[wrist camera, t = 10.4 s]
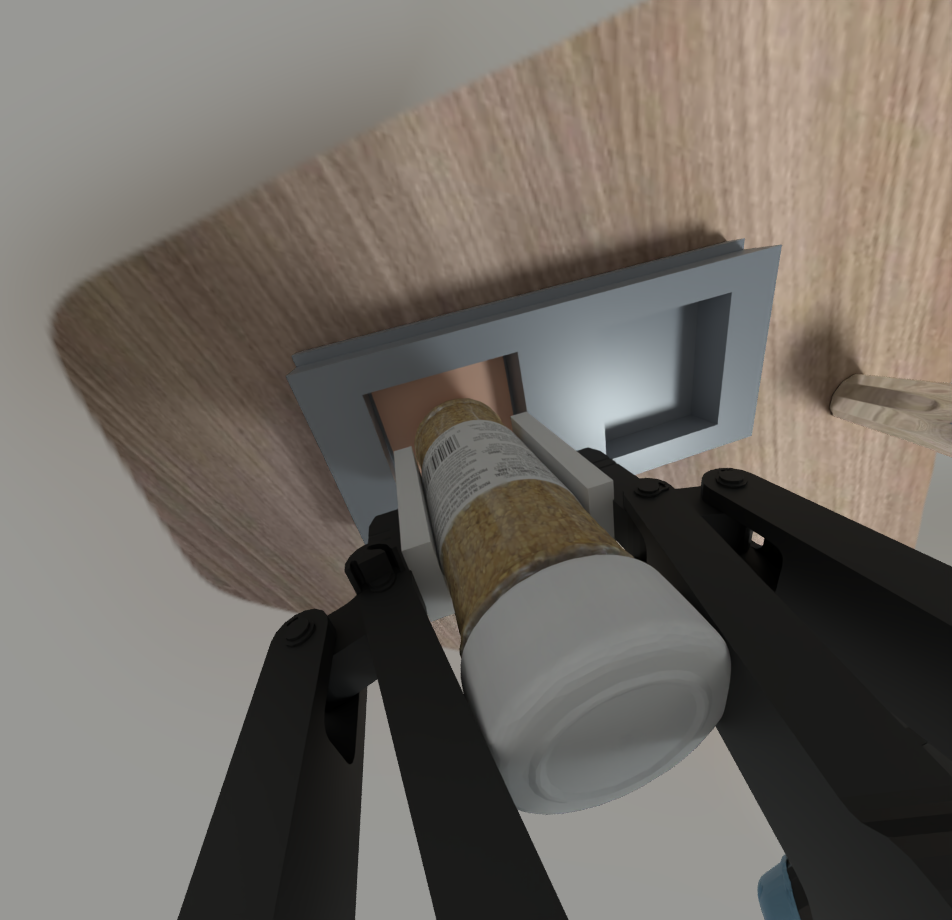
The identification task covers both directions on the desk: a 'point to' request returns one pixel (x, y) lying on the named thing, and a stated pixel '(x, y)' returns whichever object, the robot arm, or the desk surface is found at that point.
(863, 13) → the desk surface
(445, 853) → the robot arm
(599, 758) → the sprinkles bottle
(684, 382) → the two-pocket grey tray
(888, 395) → the milkshake
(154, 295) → the desk surface
